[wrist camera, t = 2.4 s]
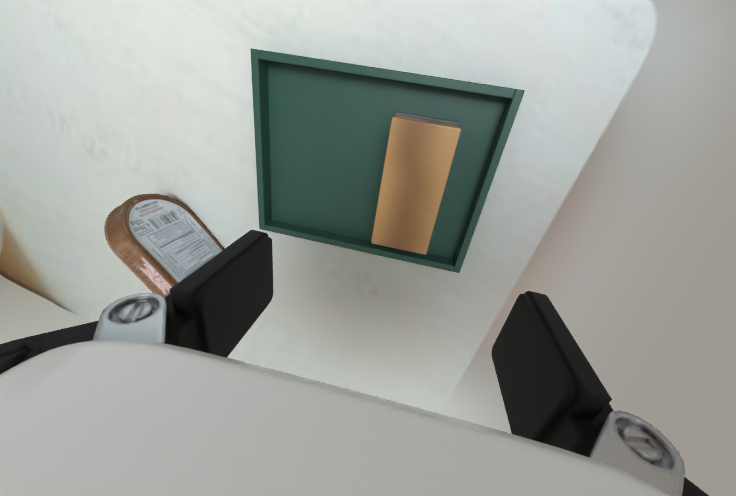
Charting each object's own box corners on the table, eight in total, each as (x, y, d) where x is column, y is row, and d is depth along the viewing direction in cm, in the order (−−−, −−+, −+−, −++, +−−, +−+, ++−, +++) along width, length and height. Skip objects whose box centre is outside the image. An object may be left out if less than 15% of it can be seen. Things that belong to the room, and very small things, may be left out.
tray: (516, 91, 21) (525, 90, 19) (457, 262, 28) (459, 273, 27) (264, 52, 23) (250, 48, 21) (269, 221, 30) (259, 229, 29)
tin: (157, 194, 32) (74, 222, 24) (173, 180, 30) (91, 205, 23) (244, 294, 36) (197, 343, 29) (261, 286, 35) (217, 335, 28)
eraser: (458, 121, 22) (465, 125, 18) (428, 234, 27) (427, 258, 23) (396, 110, 23) (389, 112, 19) (377, 223, 28) (368, 244, 23)
